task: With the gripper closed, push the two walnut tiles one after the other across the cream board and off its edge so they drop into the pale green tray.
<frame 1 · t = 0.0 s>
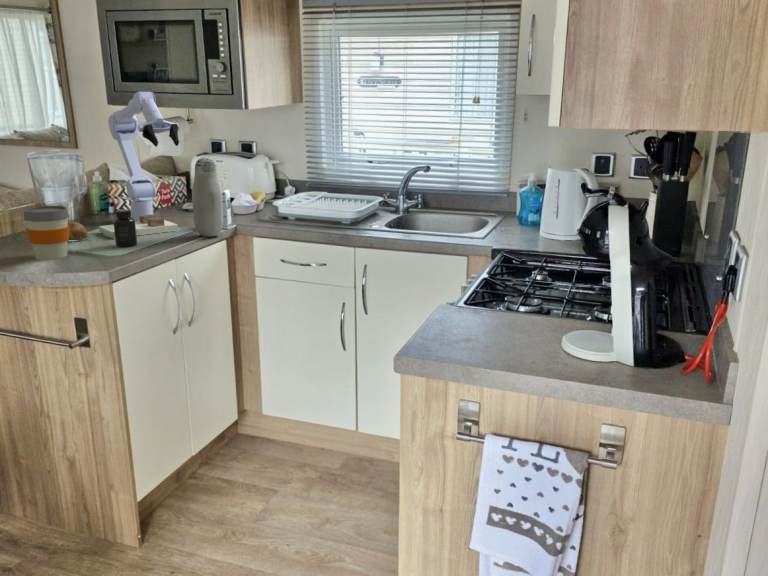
hand: (167, 144, 237), 32 cm above the countertop, tool tilted 50°, fingers open, 7 cm apart
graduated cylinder: (222, 228, 258), on the countertop
reusable coffee cup: (51, 257, 211), on the countertop
grey bottle: (209, 236, 243), on the countertop
tray: (118, 234, 243), on the countertop
tile 1: (148, 222, 253), point 2 cm above the countertop, touching board
bread roll: (72, 240, 235), on the countertop
tile 2: (156, 225, 248), point 2 cm above the countertop, touching board
supplement bottle: (126, 246, 227), on the countertop
board: (151, 230, 251), on the countertop
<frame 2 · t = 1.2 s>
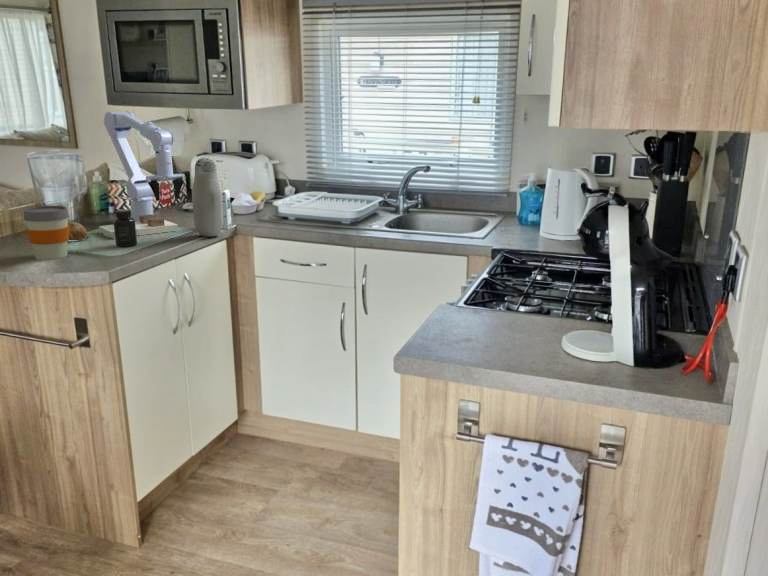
hand: (167, 199, 256), 11 cm above the countertop, tool pointing down, fingers open, 7 cm apart
nothing on the countertop moved.
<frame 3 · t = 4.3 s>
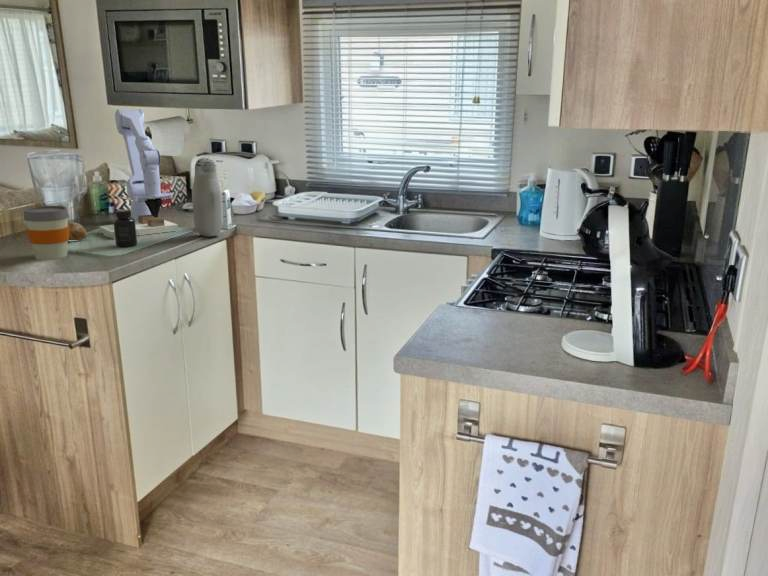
hand: (155, 218, 255), 4 cm above the countertop, tool pointing down, fingers closed
tile 1: (146, 222, 253), point 3 cm above the countertop, touching board, gripper
everything else where it was.
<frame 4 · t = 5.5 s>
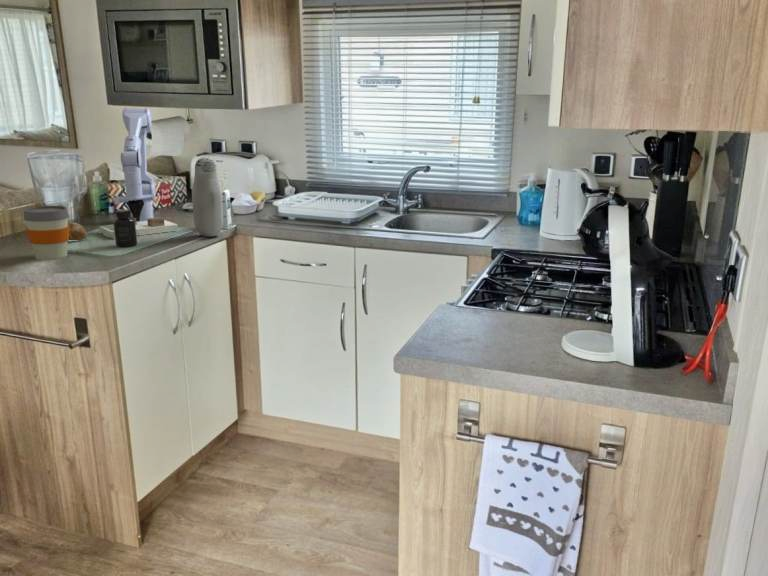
hand: (136, 220, 250), 4 cm above the countertop, tool pointing down, fingers closed
tile 1: (128, 224, 248), point 3 cm above the countertop, touching gripper
everything else where it was.
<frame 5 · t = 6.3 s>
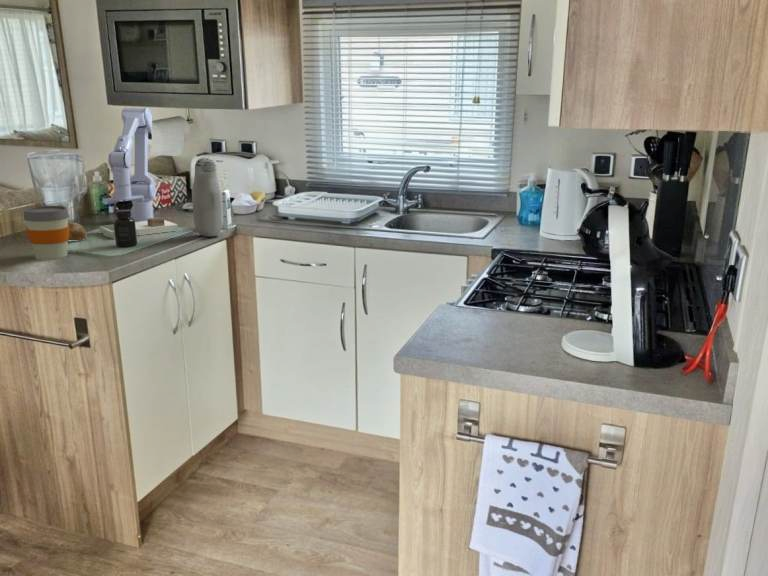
hand: (125, 221, 248), 4 cm above the countertop, tool pointing down, fingers closed
tile 1: (123, 224, 247), point 3 cm above the countertop, tilted 92°, touching gripper, tray
everything else where it was.
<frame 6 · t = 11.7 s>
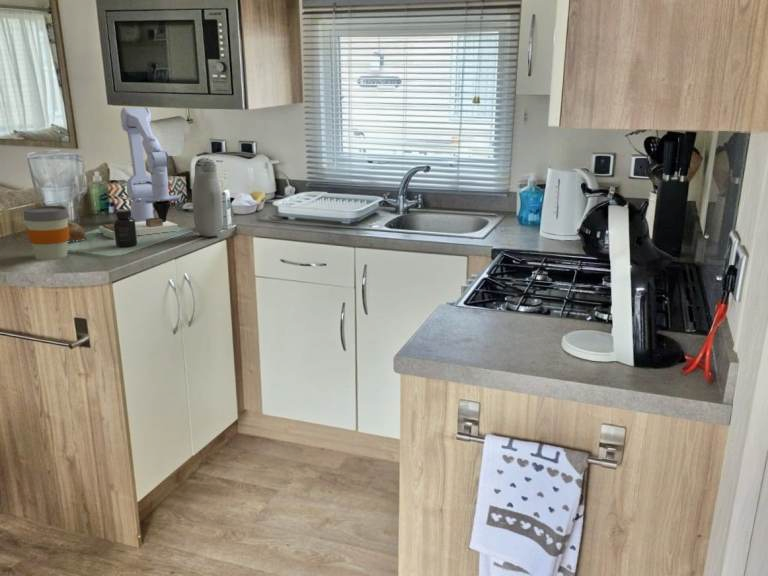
hand: (162, 221, 249), 4 cm above the countertop, tool pointing down, fingers closed
tile 1: (111, 225, 244), point 3 cm above the countertop, tilted 180°, touching tray
tile 2: (154, 225, 247), point 3 cm above the countertop, touching gripper
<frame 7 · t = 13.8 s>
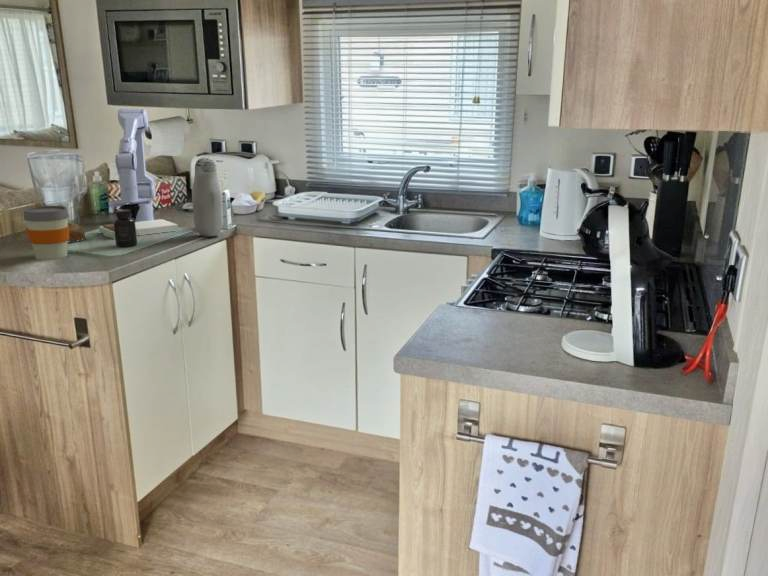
hand: (132, 225, 242), 4 cm above the countertop, tool pointing down, fingers closed
tile 2: (124, 231, 240), point 2 cm above the countertop, tilted 24°, touching gripper, tray
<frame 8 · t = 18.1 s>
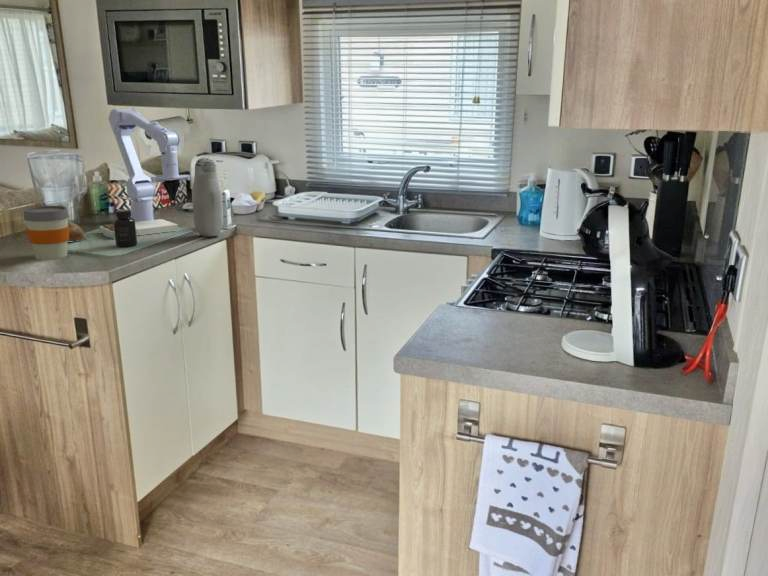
hand: (172, 200, 254), 10 cm above the countertop, tool pointing down, fingers closed
tile 2: (119, 232, 240), point 1 cm above the countertop, tilted 20°, touching tray
at the end: tile 1 inside the target area (3.4 cm from its centre), point 3.1 cm above the countertop; tile 2 inside the target area (3.8 cm from its centre), point 1.5 cm above the countertop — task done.
